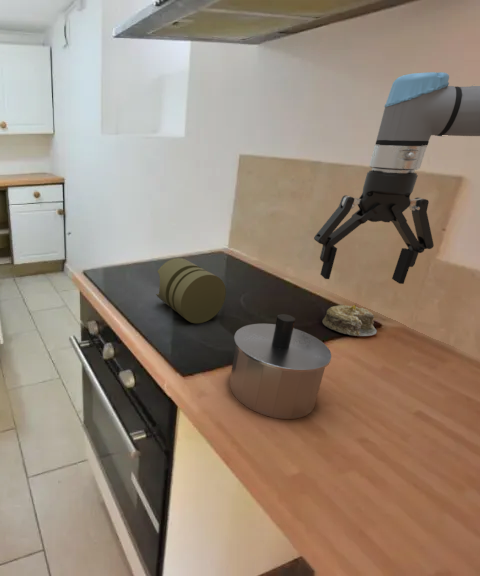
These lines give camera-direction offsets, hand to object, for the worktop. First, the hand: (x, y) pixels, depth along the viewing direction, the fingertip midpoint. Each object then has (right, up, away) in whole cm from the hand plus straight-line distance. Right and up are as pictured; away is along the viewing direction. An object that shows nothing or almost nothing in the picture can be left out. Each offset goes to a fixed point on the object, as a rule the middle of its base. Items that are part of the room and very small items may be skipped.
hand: (360, 279), depth 77 cm
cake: (0, -10, +4) cm, 11 cm away
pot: (-26, -19, -16) cm, 36 cm away
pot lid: (-26, -11, -19) cm, 34 cm away
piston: (-33, -8, +11) cm, 36 cm away
